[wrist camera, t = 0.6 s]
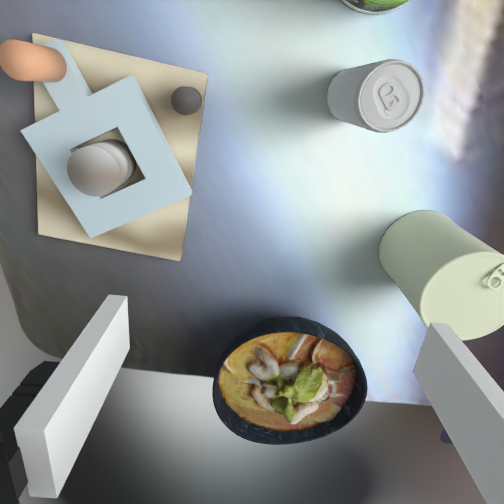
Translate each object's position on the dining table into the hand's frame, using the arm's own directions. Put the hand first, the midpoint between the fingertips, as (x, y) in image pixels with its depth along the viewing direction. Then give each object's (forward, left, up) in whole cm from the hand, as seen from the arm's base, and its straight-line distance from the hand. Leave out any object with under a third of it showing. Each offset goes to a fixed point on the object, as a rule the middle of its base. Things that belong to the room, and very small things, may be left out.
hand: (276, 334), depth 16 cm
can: (+3, +19, -26) cm, 33 cm away
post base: (0, -16, -26) cm, 31 cm away
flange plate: (-2, -17, -25) cm, 30 cm away
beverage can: (-11, +6, -26) cm, 29 cm away
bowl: (+20, +7, -26) cm, 34 cm away
